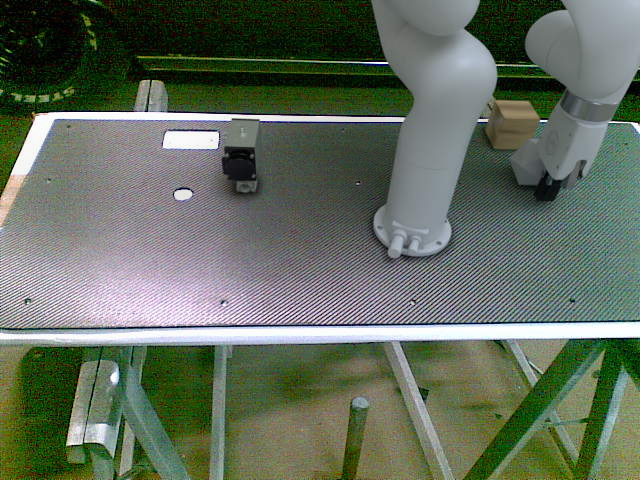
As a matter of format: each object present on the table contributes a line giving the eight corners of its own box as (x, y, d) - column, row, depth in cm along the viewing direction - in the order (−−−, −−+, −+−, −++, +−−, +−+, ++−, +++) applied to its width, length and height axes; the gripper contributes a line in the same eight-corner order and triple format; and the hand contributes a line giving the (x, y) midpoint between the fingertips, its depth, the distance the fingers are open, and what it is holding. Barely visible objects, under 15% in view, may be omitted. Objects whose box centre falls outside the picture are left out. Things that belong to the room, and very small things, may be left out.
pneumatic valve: (263, 166, 88) (260, 108, 80) (257, 208, 80) (252, 148, 71) (233, 165, 88) (227, 107, 80) (224, 207, 80) (216, 147, 71)
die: (546, 205, 85) (588, 159, 81) (509, 178, 83) (550, 130, 79) (526, 190, 92) (564, 147, 89) (492, 165, 90) (529, 121, 87)
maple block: (527, 150, 96) (540, 119, 91) (493, 149, 96) (504, 118, 91) (517, 131, 101) (528, 101, 96) (484, 130, 100) (494, 99, 96)
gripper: (546, 78, 75) (510, 171, 88) (583, 129, 65) (535, 227, 78) (593, 79, 75) (550, 172, 88) (637, 131, 65) (580, 228, 78)
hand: (543, 198), depth 83 cm, fingers closed
